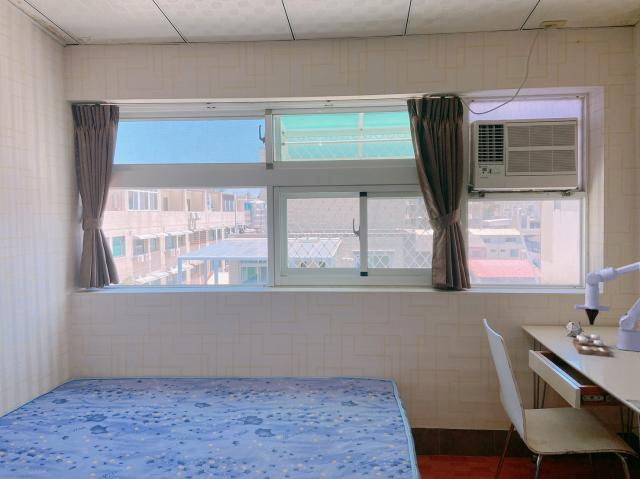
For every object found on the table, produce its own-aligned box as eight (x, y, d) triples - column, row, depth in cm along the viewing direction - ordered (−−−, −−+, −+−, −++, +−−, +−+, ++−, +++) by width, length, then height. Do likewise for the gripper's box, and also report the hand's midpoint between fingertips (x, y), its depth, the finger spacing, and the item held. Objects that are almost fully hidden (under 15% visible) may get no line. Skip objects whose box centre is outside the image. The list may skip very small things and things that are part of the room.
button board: (601, 345, 212) (601, 340, 212) (609, 356, 195) (610, 351, 195) (572, 342, 217) (572, 337, 217) (578, 353, 199) (578, 348, 199)
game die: (574, 344, 226) (571, 331, 221) (562, 334, 233) (558, 322, 229) (589, 335, 226) (586, 322, 221) (576, 326, 234) (573, 313, 229)
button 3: (601, 344, 205) (601, 340, 205) (603, 346, 202) (603, 342, 202) (592, 343, 206) (593, 339, 206) (594, 345, 203) (594, 341, 203)
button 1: (587, 340, 207) (587, 337, 207) (588, 343, 204) (588, 339, 204) (578, 340, 209) (578, 336, 209) (579, 342, 205) (579, 338, 205)
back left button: (584, 339, 214) (584, 335, 214) (585, 341, 211) (585, 337, 210) (576, 338, 215) (576, 334, 215) (577, 340, 212) (577, 336, 212)
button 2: (598, 338, 211) (598, 334, 211) (600, 340, 208) (600, 336, 208) (590, 337, 213) (590, 334, 213) (591, 339, 210) (591, 335, 209)
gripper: (576, 297, 213) (575, 325, 214) (611, 299, 208) (610, 327, 208) (574, 295, 220) (573, 321, 220) (608, 296, 214) (607, 324, 215)
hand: (591, 324), depth 215 cm, fingers closed
